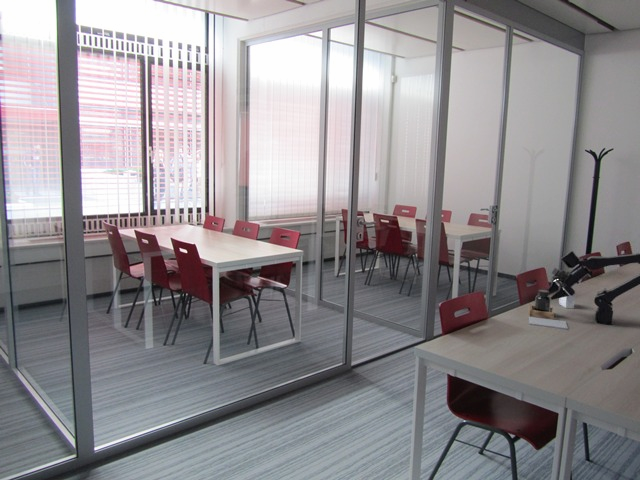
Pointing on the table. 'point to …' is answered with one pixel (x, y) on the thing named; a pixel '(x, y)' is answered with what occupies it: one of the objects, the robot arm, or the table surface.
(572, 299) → the medicine box
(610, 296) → the robot arm
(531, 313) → the tan wooden bay
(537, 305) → the supplement bottle
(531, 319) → the slate mat
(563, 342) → the table surface
